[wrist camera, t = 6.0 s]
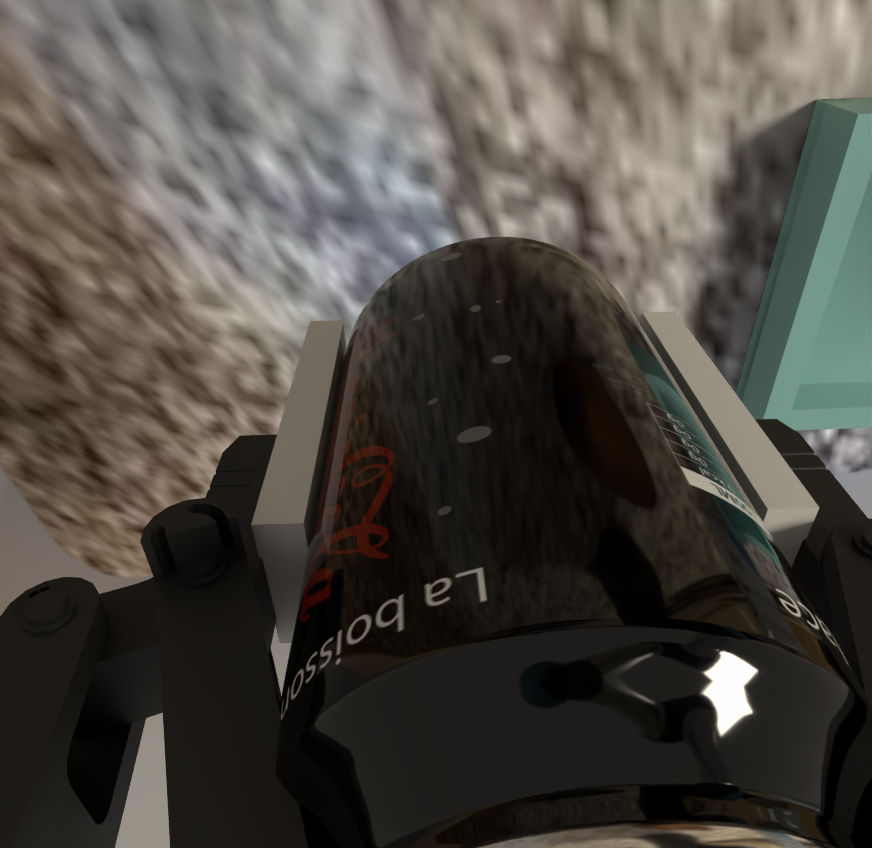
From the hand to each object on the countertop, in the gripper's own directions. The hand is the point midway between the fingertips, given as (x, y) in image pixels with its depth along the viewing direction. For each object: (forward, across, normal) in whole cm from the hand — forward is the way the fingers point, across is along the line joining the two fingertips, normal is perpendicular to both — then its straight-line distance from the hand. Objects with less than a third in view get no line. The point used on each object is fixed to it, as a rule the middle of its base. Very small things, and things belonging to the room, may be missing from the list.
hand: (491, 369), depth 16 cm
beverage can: (+1, 0, 0) cm, 1 cm away
